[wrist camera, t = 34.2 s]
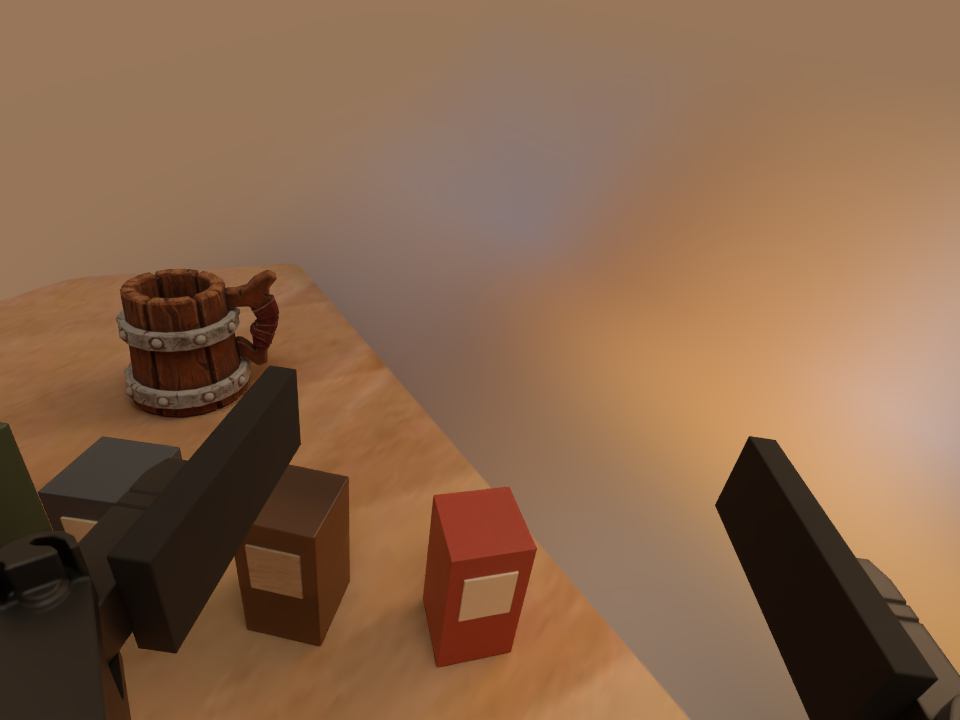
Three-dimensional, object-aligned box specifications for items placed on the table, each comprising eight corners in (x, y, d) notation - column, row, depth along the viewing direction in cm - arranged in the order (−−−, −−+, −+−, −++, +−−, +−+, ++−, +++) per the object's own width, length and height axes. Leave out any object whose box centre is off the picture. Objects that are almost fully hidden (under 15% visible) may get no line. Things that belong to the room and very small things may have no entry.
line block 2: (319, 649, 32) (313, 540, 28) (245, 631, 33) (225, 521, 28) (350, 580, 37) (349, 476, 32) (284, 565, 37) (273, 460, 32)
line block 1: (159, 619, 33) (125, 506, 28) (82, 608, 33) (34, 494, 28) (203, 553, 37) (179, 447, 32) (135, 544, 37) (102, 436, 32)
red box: (511, 654, 34) (538, 550, 29) (437, 670, 32) (452, 564, 27) (489, 586, 38) (509, 486, 33) (422, 597, 36) (433, 494, 32)
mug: (125, 363, 56) (123, 231, 50) (264, 369, 63) (278, 253, 57) (105, 427, 47) (101, 275, 41) (271, 426, 54) (288, 295, 48)
